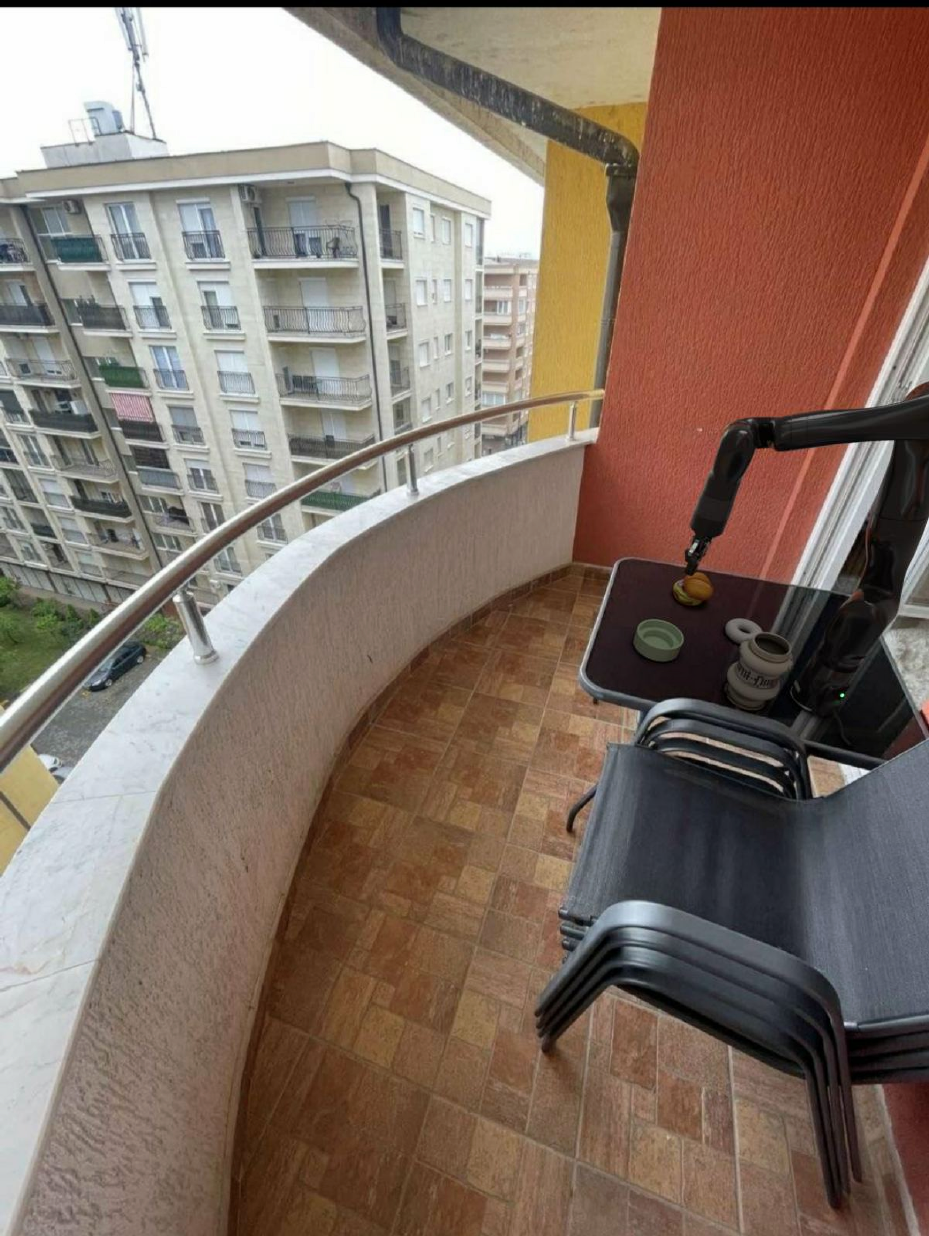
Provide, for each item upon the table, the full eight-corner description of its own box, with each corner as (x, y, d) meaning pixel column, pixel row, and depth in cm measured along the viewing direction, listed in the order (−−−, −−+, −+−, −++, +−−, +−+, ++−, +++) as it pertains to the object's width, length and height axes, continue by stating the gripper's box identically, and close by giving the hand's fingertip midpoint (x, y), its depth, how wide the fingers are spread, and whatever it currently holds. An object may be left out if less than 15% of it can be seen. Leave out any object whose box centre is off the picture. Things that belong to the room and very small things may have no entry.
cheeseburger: (688, 583, 175) (704, 562, 167) (708, 609, 169) (726, 588, 161) (663, 590, 171) (678, 568, 163) (683, 616, 166) (699, 595, 158)
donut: (726, 645, 153) (764, 650, 152) (730, 636, 151) (768, 641, 150) (720, 622, 161) (756, 627, 159) (724, 613, 159) (761, 618, 157)
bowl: (678, 638, 155) (683, 624, 151) (678, 667, 146) (683, 653, 142) (634, 628, 157) (638, 615, 154) (631, 656, 148) (636, 643, 145)
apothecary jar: (711, 678, 143) (736, 626, 131) (755, 677, 144) (784, 625, 132) (732, 714, 134) (761, 662, 122) (779, 713, 135) (812, 661, 123)
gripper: (717, 528, 119) (692, 592, 130) (739, 507, 126) (714, 569, 138) (684, 515, 122) (663, 578, 133) (708, 496, 130) (686, 557, 141)
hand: (689, 573), depth 135 cm, fingers closed
